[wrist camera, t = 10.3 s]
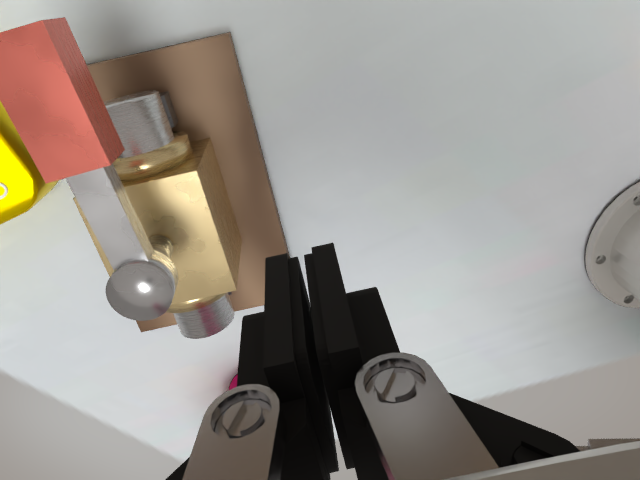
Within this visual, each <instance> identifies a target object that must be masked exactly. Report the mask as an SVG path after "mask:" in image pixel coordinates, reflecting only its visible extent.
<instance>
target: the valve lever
mask: <svg viewBox="0 0 640 480" xmlns="http://www.w3.org/2000/svg"><path fill="white" fill-rule="evenodd" d="M0 101H1V103H2V104H3V106H4V108H5V110H6V112H7V114H8V115H9V117H10V119H11V121H12V123H13V124H14V126H15V128H16V130H17V132H18V134H19V135H20V137H21V139H22V141H23V143H24V145H25V146H26V148H27V150H28V152H29V154H30V155H31V157H32V159H33V161H34V163H35V165H36V166H37V168H38V170H39V172H40V174H41V176H42V177H43V179H44V181H45V183H50V182H53V181H57V180H60V179H64V178H65V179H66V180H67V182H68V184H69V186H70V188H71V190H72V192H73V194H74V196H75V198H76V199H77V201H78V203H79V205H80V207H81V209H82V211H83V213H84V215H85V217H86V218H87V220H88V222H89V224H90V226H91V228H92V230H93V232H94V234H95V236H96V237H97V239H98V241H99V243H100V245H101V247H102V249H103V251H104V253H105V255H106V257H107V258H108V260H109V262H110V264H111V266H112V268H113V270H114V271H113V273H112V275H111V277H110V278H109V280H108V282H107V285H106V296H107V300H108V302H109V303H110V305H111V306H112V308H113V309H114V310H115V311H116V312H118V313H119V314H121V315H122V316H124V317H126V318H129V319H133V320H138V321H146V320H152V319H155V318H158V317H160V316H161V315H163V314H164V313H165V312H166V311H167V310H168V309H169V307H170V305H171V303H172V300H173V297H174V293H175V290H176V287H177V284H178V271H177V269H176V266H175V265H174V263H173V262H172V261H171V260H170V259H169V258H168V257H167V256H165V255H164V254H162V253H160V252H158V251H155V250H153V248H152V246H151V244H150V241H149V239H148V237H147V235H146V233H145V231H144V229H143V227H142V224H141V222H140V220H139V218H138V216H137V214H136V212H135V210H134V208H133V205H132V203H131V201H130V199H129V197H128V195H127V193H126V191H125V188H124V186H123V184H122V182H121V180H120V178H119V176H118V174H117V171H116V169H115V167H114V165H113V162H114V161H115V160H116V159H117V158H118V157H119V156H120V155H121V154H122V152H123V151H124V150H125V149H124V146H123V144H122V142H121V140H120V138H119V135H118V133H117V131H116V129H115V127H114V124H113V122H112V120H111V118H110V116H109V113H108V111H107V109H106V107H105V105H104V102H103V100H102V98H101V96H100V94H99V91H98V89H97V87H96V85H95V82H94V80H93V78H92V76H91V74H90V71H89V69H88V67H87V65H86V63H85V60H84V58H83V56H82V54H81V52H80V49H79V47H78V45H77V43H76V41H75V38H74V36H73V34H72V32H71V30H70V27H69V25H68V23H67V21H66V19H65V17H64V18H57V19H49V20H42V21H38V22H35V23H31V24H28V25H25V26H21V27H18V28H14V29H11V30H8V31H4V32H1V33H0Z"/></svg>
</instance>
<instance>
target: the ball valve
mask: <svg viewBox="0 0 640 480" xmlns="http://www.w3.org/2000/svg"><path fill="white" fill-rule="evenodd" d="M104 105H105V107H106V109H107V111H108V113H109V116H110V118H111V120H112V122H113V124H114V127H115V129H116V131H117V133H118V135H119V138H120V140H121V142H122V144H123V146H124V149H125V150H124V151H123V152H122V154H121V155H120V156H119V157H118V158H117V159H116V160H115V161H114V162H113V165H114V167H115V169H116V171H117V174H118V176H119V178H120V180H121V182H122V184H123V186H124V188H125V191H126V193H127V195H128V197H129V199H130V201H131V203H132V205H133V208H134V210H135V212H136V214H137V216H138V218H139V220H140V222H141V224H142V227H143V229H144V231H145V233H146V235H147V237H148V239H149V241H150V244H151V246H152V248H153V250H155V251H158V252H160V253H162V254H164V255H165V256H167V257H168V258H169V259H170V260H171V261H172V262H173V263H174V265H175V266H176V269H177V271H178V284H177V287H176V290H175V293H174V297H173V300H172V303H171V305H170V307H169V309H168V310H167V311H166V312H168V313H173V315H174V317H175V319H176V322H177V324H178V327H179V329H180V332H181V333H182V335H183V336H185V337H187V338H192V339H199V338H205V337H208V336H211V335H214V334H216V333H218V332H220V331H221V330H223V329H224V328H226V327H227V326H228V325H229V324H230V323H231V321H232V320H233V318H234V309H233V306H232V304H231V301H230V298H229V295H232V291H236V290H237V281H238V272H239V264H240V255H241V246H242V238H241V235H240V232H239V229H238V225H237V222H236V219H235V216H234V213H233V209H232V206H231V203H230V200H229V196H228V193H227V190H226V187H225V184H224V180H223V177H222V174H221V171H220V167H219V164H218V161H217V158H216V155H215V151H214V148H213V145H212V142H211V138H206V139H202V140H197V141H193V142H190V141H189V138H188V135H187V133H186V132H183V131H172V129H171V128H172V127H175V126H176V124H177V123H178V118H177V115H176V112H175V109H174V107H173V104H172V101H171V98H170V95H169V92H168V91H167V92H162V93H159V92H158V91H157V90H152V91H144V92H139V93H134V94H130V95H126V96H122V97H118V98H115V99H111V100H108V101H105V102H104ZM73 199H74V201H75V203H76V206H77V208H78V210H79V212H80V214H81V216H82V218H83V221H84V223H85V225H86V227H87V229H88V231H89V233H90V236H91V238H92V240H93V242H94V244H95V246H96V248H97V251H98V253H99V255H100V257H101V259H102V261H103V263H104V266H105V268H106V270H107V272H108V274H109V276H110V277H111V275H112V273H113V271H114V270H113V268H112V266H111V264H110V262H109V260H108V258H107V257H106V255H105V253H104V251H103V249H102V247H101V245H100V243H99V241H98V239H97V237H96V236H95V234H94V232H93V230H92V228H91V226H90V224H89V222H88V220H87V218H86V217H85V215H84V213H83V211H82V209H81V207H80V205H79V203H78V201H77V199H76V198H75V197H74V198H73Z"/></svg>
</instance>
